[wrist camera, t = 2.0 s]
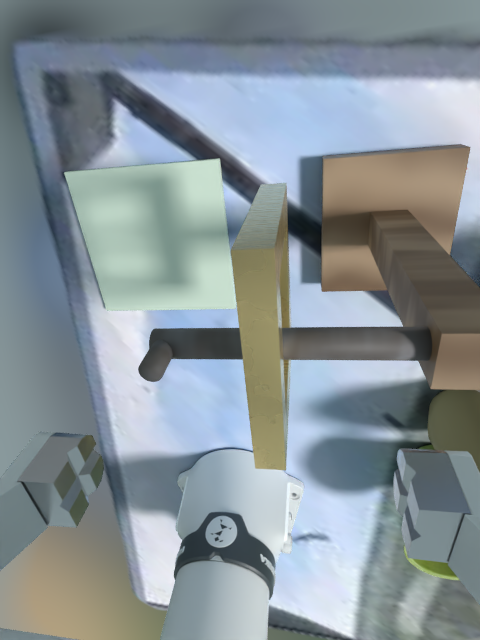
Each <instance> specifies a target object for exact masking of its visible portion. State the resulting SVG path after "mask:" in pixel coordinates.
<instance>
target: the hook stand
mask: <svg viewBox="0 0 480 640" xmlns="http://www.w3.org/2000/svg"><path fill="white" fill-rule="evenodd" d="M469 152H470V147H468V146H465V145H461V144H460V145H448V146H436V147H424V148H412V149H400V150H387V151H375V152H363V153H351V154H339V155H327V156H323V158H322V240H321V288H322V292H327V291H370V290H388V292H389V294H390V297H391V299H392V301H393V304H394V306H395V308H396V311H397V313H398V315H399V317H400V320H401V322H402V324H403V327H308V328H282V340H283V360H411V361H419V363H420V366H421V368H422V370H423V372H424V375H425V377H426V379H427V382H428V384H429V386H430V388H431V389H451V390H480V288H479V287H478V285H477V284H476V283H475V282H474V281H473V280H472V279H471V278H470V277H469V276H468V275H467V273H466V272H465V271H464V270H463V269H462V268H461V267H460V266H459V265H458V264H457V263H456V262H455V260H454V259H453V258H452V257H451V256H450V252H451V247H452V242H453V236H454V231H455V226H456V221H457V215H458V210H459V205H460V199H461V194H462V189H463V184H464V178H465V173H466V168H467V163H468V157H469ZM149 348H150V349H149V351H148V352H147V354H146V356H145V357H144V359H143V361H142V362H141V364H140V366H139V368H138V370H139V374H140V375H141V376H142V377H143V378H144V379H145V380H147V381H151V382H156V381H159V380H160V379H161V378H162V377H163V375H164V372H165V370H166V368H167V366H168V364H169V362H170V360H171V359H243V356H242V347H241V338H240V329H239V328H175V329H153V331H152V332H151V335H150V340H149Z"/></svg>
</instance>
